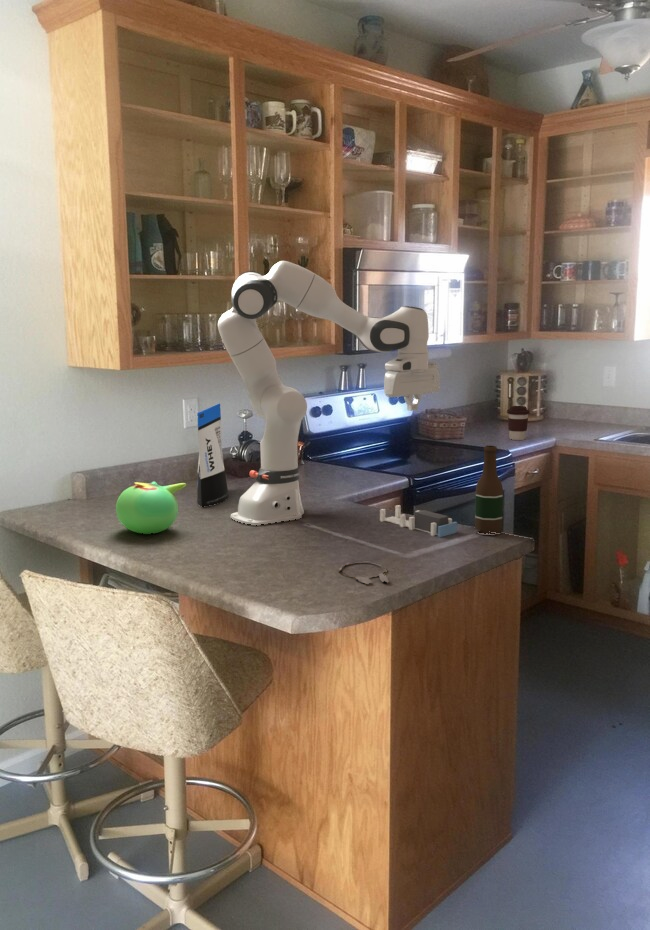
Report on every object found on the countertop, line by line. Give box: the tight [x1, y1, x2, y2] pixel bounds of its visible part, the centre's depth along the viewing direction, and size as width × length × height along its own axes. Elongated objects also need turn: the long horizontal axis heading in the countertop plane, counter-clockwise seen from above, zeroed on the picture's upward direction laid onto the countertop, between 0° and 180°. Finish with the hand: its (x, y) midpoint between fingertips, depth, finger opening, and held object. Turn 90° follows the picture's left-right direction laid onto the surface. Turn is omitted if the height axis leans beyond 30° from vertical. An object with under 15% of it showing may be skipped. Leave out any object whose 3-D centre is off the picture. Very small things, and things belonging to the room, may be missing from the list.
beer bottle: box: [474, 445, 504, 534], centre depth 218 cm, size 8×8×24 cm
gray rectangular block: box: [414, 509, 449, 534], centre depth 219 cm, size 4×10×4 cm, turn 40°
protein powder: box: [196, 402, 230, 508], centre depth 259 cm, size 10×24×30 cm, turn 171°
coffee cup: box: [506, 405, 530, 441], centre depth 366 cm, size 10×10×15 cm
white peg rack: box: [379, 504, 458, 538], centre depth 223 cm, size 8×24×4 cm, turn 40°
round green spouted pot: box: [115, 481, 187, 535], centre depth 224 cm, size 18×17×15 cm
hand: (412, 410), depth 236 cm, fingers closed
